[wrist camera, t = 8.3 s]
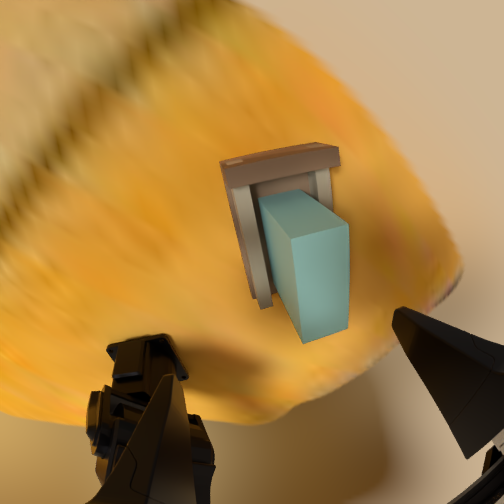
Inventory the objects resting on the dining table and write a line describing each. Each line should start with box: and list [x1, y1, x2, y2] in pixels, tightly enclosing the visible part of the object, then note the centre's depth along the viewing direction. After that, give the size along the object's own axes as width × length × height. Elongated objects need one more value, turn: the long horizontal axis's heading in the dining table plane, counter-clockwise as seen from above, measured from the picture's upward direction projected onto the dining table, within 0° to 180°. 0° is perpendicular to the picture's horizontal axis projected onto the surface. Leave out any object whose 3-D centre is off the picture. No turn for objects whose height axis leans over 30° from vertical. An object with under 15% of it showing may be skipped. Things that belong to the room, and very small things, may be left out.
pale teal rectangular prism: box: [258, 189, 350, 344], centre depth 17 cm, size 7×3×7 cm, turn 11°
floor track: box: [219, 142, 341, 309], centre depth 19 cm, size 11×7×3 cm, turn 12°
